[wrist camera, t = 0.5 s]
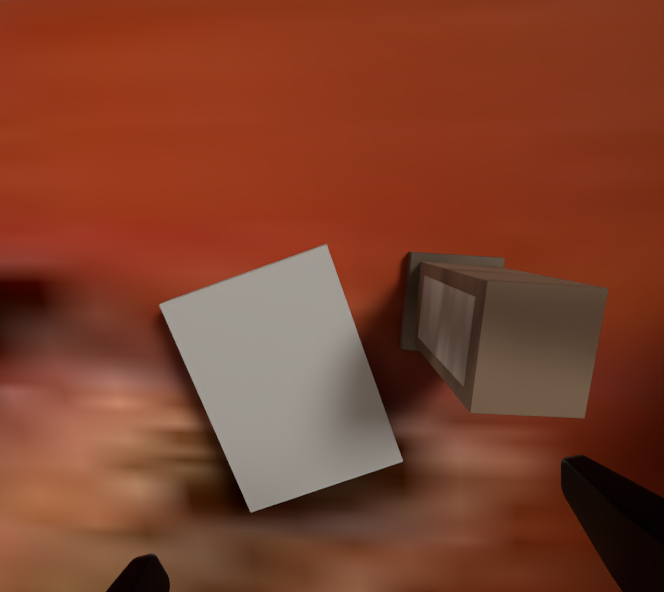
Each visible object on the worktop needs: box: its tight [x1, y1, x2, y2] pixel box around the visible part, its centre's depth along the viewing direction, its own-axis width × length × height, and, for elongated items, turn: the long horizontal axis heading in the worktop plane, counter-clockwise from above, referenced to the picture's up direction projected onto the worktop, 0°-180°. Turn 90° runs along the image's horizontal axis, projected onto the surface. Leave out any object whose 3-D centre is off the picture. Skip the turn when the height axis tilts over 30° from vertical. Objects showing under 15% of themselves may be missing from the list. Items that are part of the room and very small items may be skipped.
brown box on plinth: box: [400, 252, 608, 418], centre depth 19 cm, size 6×6×10 cm
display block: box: [159, 244, 403, 512], centre depth 23 cm, size 14×10×2 cm
